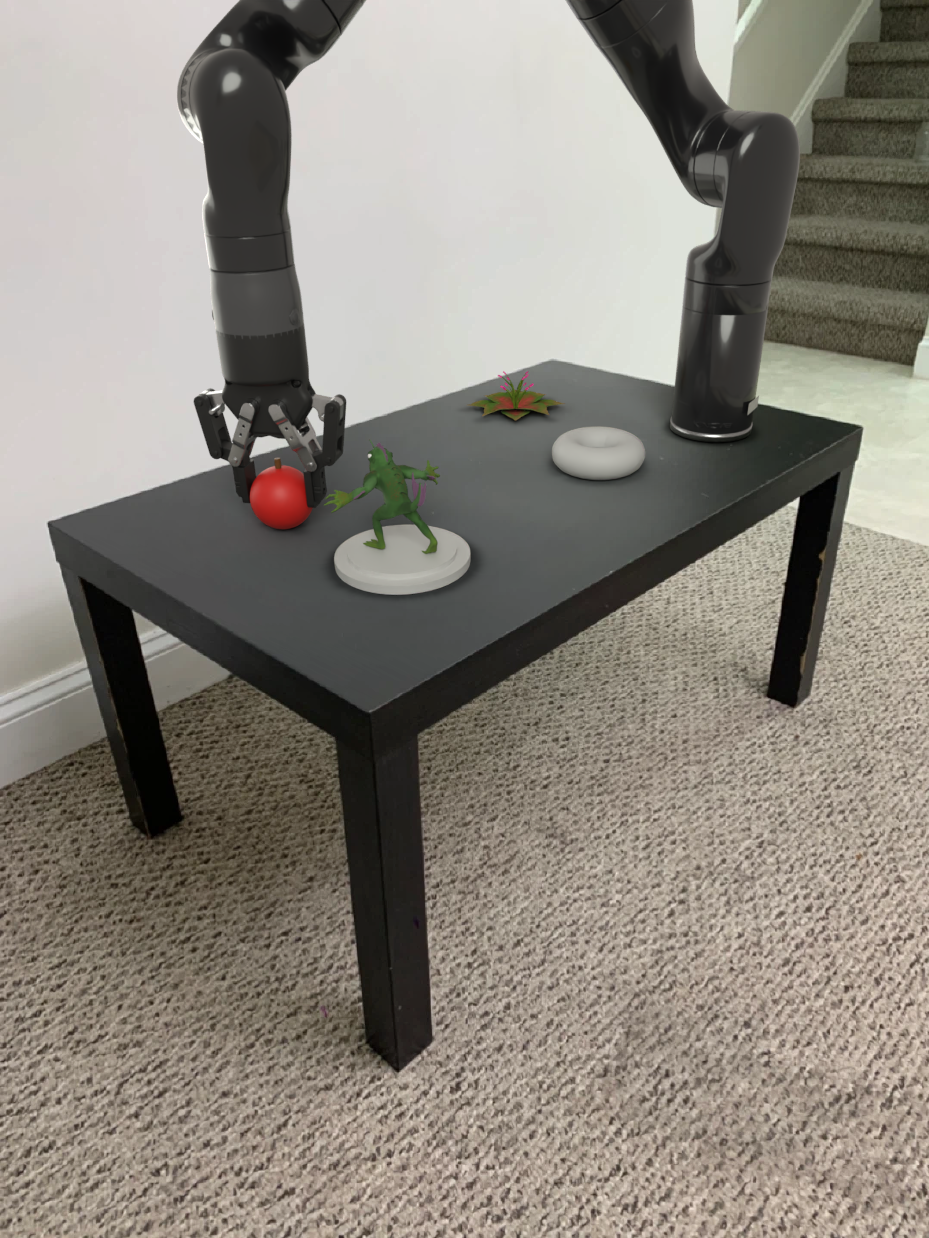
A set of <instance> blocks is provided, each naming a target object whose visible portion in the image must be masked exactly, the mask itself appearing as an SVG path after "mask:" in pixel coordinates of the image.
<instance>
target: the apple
mask: <svg viewBox="0 0 929 1238" xmlns="http://www.w3.org/2000/svg"><path fill="white" fill-rule="evenodd" d="M273 462H274V465H273V466H270V467H267V468H266V469H264V470H262V471H261V472H260V473H259V474H258V475H256V478H255V480H254V482H253V484H252V486H251V490H250V503H249V504H250V507H251V510H252V512H253V513H254V515H255V517H256V518H257V519H258V520H259V521H260V523H263V524H264V525H266V526H267V527H270V528H272V529H275V530H289V529H293V528H296V527H298V526H299V525H301V524H302V523H304V522H305V521H306V520H307V519H308V518H309V517H310V515H311V513H312V511H313V509H314V508H309V507H308V506H307V500H306V491H305V483H304V474H303V472H302V471H301V470H299V469H297V468H296V467H293V466H289V465H285V464H282V459H281V457H275V458H274V459H273Z"/></svg>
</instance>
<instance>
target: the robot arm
mask: <svg viewBox="0 0 929 1238" xmlns="http://www.w3.org/2000/svg"><path fill="white" fill-rule="evenodd" d="M565 2H566V4H567V6H568V8H569V9H570V10H571V12H572V14H573V15H574V17H575V18H576V19H577V21H578V23H579V24H580V25H581V27H582V29H583V30H584V31H585V32H586V34H587V35H588V37H589V38H590V40H591V41H592V43H593V45H594V46H595V47H596V48H597V49H598V51H599V52H600V53H601V55H602V56H603V58H605V60H606V61H607V63H608V64H609V65H610V67H611V68H612V70H613V72H614V73H615V74H616V76H617V77H618V79H619V80H620V82H621V83H622V85H623V86H624V87H625V88H624V89H626V90H627V92H628V94H629V95H630V97H631V98H632V99H633V100H634V102H635V103H636V105H637V106H638V108H639V109H640V110H641V112H642V113H643V115H644V117H645V118H646V120H647V121H648V123H649V124H650V126H651V128H652V130H653V131H654V133H655V135H656V137H657V139H658V141H659V143H660V145H661V147H662V149H663V150H664V151H663V152H664V153H665V155H666V156H667V158H668V160H669V162H670V164H671V166H672V168H673V170H674V172H675V174H676V175H677V177H678V179H679V181H680V183H681V184H682V186H683V187H684V190H686V192H687V193H688V194H689V195H690V196H691V197H692V198H693V199H694V200H695V201H696V202H698V203H699V204H702V205H704V206H708V207H712V208H717V209H721V211H720V215H719V221H718V226H717V230H716V233H715V234H714V236H713V237H712V238H711V239H710V240H709V241H707V242H704V243H701V244H698V245H696V246H693V248H691V249H690V250H689V252H688V254H687V258H686V264H685V265H686V266H685V274H684V283H683V284H684V285H683V294H682V307H681V318H680V327H679V338H678V347H677V357H676V358H677V359H676V369H675V379H674V391H673V397H672V398H673V399H672V409H671V410H672V411H671V417H670V422H669V429H670V430H671V432H672V433H674V434H676V435H677V436H680V437H682V438H686V439H688V440H693V441H698V442H709V443H728V442H733V441H734V442H735V441H739V440H743V439H745V438H747V437H749V436H750V435H751V434H752V431H753V425H754V424H753V423H754V422H753V418H754V411H755V410H756V409H757V408H758V406H759V398H760V395H758V396H757V392H758V391H757V390H758V382H759V376H760V369H761V362H762V356H763V348H764V340H765V333H766V326H767V320H768V312H769V303H770V297H771V291H772V290H771V289H772V282H773V278H774V277H773V276H774V270H775V265H776V263H777V261H778V259H779V257H780V255H781V253H782V251H783V248H784V246H785V242H786V238H787V234H788V229H789V223H790V218H791V213H792V209H793V203H794V198H795V192H796V188H797V182H798V177H799V171H800V162H801V161H800V160H801V147H800V145H801V144H800V139H799V138H800V137H799V133H798V130H797V128H796V126H795V124H794V122H793V121H792V120H791V119H790V118H789V117H788V116H786V115H784V114H783V113H779V112H775V111H763V110H743V109H742V110H739V109H733V107H730V105H728V104H727V103H726V102H725V100H724V99H723V98H722V97H721V96H720V95H719V93H718V91H717V90H716V89H715V87H714V86H713V85H712V83H711V81H710V80H709V78H708V76H707V75H706V73H705V71H704V69H703V68H702V65H701V63H700V61H699V59H698V54H697V49H696V36H695V34H696V30H695V11H694V1H693V0H565ZM365 3H367V0H238V1H237V2H236V3H235V4H234V5H233V6H232V7H231V8H230V10H229V11H227V13H226V14H225V15H224V16H223V17H222V18H221V20H220V21H219V22H218V23H217V24H216V25H215V26H214V27H213V28H212V30H211V31H210V32H209V33H207V35H206V36H205V37H204V39H203V40H201V41H202V42H201V43H199V45H198V46H197V48H196V49H195V50H194V51H193V53H192V54H191V56H190V57H189V59H188V60H187V62H186V63H185V65H184V67H183V69H182V71H181V72H180V75H179V78H178V82H177V87H176V104H177V110H178V113H179V116H180V118H181V121H182V123H183V124H184V126H185V128H186V129H187V130H188V131H189V133H190V134H191V135H192V136H193V137H194V138H195V139H196V140H197V141H198V142H200V143H201V144H202V145H203V153H204V163H205V172H206V180H207V193H206V195H205V197H204V198H203V201H202V207H201V208H202V210H201V217H202V228H203V235H204V242H205V249H206V255H207V256H206V257H207V262H208V267H209V282H210V283H209V288H210V289H209V290H210V291H209V293H210V301H211V303H210V304H211V308H212V309H211V317H212V321H213V322H214V329H215V335H216V343H217V348H218V350H217V351H218V356H219V361H220V362H219V363H220V369H221V374H222V376H223V379H224V386H223V389H221V390H215V389H214V388H211V387H210V388H207V389H205V390H203V391H202V392H200V393H199V394H198V395H197V396H195V397H194V398H193V405H194V408H195V411H196V415H197V418H198V422H199V425H200V428H201V431H202V433H203V437H204V441H205V444H206V447H207V450H208V453H209V456H210V457H211V458H212V459H214V460H219V459H222V460H224V461H226V462H228V463H229V465H230V466H231V468H232V472H233V480H234V486H235V493H236V494H237V496H238V497H239V498H241V500H242V501H241V502H242V503H243V504H251V503H250V490H251V486H252V484H253V482H254V480H255V478H256V477H257V473H256V472H257V471H256V465H255V460H254V459H251V454H252V452H253V449H254V446H255V443H256V440H257V438H265V437H272V438H275V439H282V440H285V441H286V443H287V444H288V446H289V448H290V450H291V451H293V452H295V453H296V455H297V456H298V457H297V458H298V459H299V460H300V462H301V464H302V466H303V467H304V470H303V472H302V473H303V474H304V483H305V491H306V500H307V506H308V507H309V508H313V509H317V508H318V506H319V505H320V504H321V503H322V501H323V500H325V498H326V497H327V492H328V488H327V479H326V478H327V477H326V468H325V467H332V466H333V465H334V464H335V463H336V462H337V461H338V460H340V458H341V457H342V456H343V454H344V446H345V432H346V431H345V430H346V417H347V415H346V414H347V413H346V412H347V398H346V397H345V396H344V395H343V394H340V393H339V394H336V395H335V396H333V397H331V396H327V395H322V394H317V393H316V391H315V389H314V387H313V386H312V383H311V380H310V365H309V357H308V347H307V346H308V345H307V337H306V328H305V318H304V310H303V299H302V292H301V286H300V282H299V278H298V274H297V268H296V263H295V254H294V243H293V234H292V233H293V232H292V224H291V219H290V217H291V216H290V213H289V212H290V211H289V195H290V194H289V193H290V185H291V169H292V168H291V167H292V145H293V144H292V141H293V139H292V137H293V135H292V119H291V118H292V117H291V110H290V105H289V100H288V96H287V90H288V88H289V87H290V86H291V85H292V84H293V82H294V81H295V80H296V78H297V77H298V76H299V74H301V72H302V71H304V69H307V67H309V66H311V65H312V64H315V63H317V62H319V61H320V60H321V59H323V58H324V57H325V56H326V55H327V54H328V53H329V52H330V51H331V49H332V48H333V47H334V46H335V45H336V44H337V42H338V41H339V39H341V36H342V35H343V34H344V32H345V31H346V30H347V28H348V27H349V25H350V24H351V23H352V22H353V20H354V18H355V17H356V16H357V14H358V13H359V11H360V10H361V9H362V8H363V6H364V5H365ZM226 407H227V409H228V410H229V411H230V413H232V415H233V416H234V417H235V418H236V419H237V423H236V427H235V430H234V433H233V435H232V436H233V437H232V439H231V435H230V432H229V428H228V425H227V421H226V419H225V415H224V412H225V410H226ZM313 409H314V410H316V412H317V417H318V419H319V421H321V422H323V430H322V447H321V445H320V443H319V441H318V439H317V434H316V430H315V429H314V426H313V425H312V423H311V421H310V420H309V417H308V416H309V414H310V413H311V411H312V410H313Z"/></svg>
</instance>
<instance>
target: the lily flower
mask: <svg viewBox="0 0 929 1238" xmlns="http://www.w3.org/2000/svg"><path fill="white" fill-rule="evenodd" d="M502 373H503V374H504V375H505V376H506V378H505V377H503V376H502V375H501V374H497V377H499V378H501V379H503V380H504V381H505V382H504V385H505V386H506V387H508V388H509V389H508V388H506V387H505V386H503V385H500V388H501V389H502V390H504V391H498V392H494V393H491V394H486V395H484V397H486V398H487V399H481V400H477V401H474V402H472V403H470V404H467V406H470V407H477V408H478V407H479V408H484V409H483V414H482V415H481V417H484V416H487V415H489V414H491V413H495V412H497V411H500V410H501V414H503V415H505V416H507V417H508V418H510V419H512V420H514V421H517V420H519V419H521V417H524V416H525V415H528V414H529V413H530V412H531V411H534V412H537V413H541V414H545V415H547V416H550V413H549V411H548V407H551V406H559V405H566V403H565V402H560V401H556V400H555V399H549V398H545V399H543V398H544V396H547V394H546V393H541V392H536V391H532V390H529V389H530V388H532V387H533V386H534V385H535V384H534V383H533V382H532V383H530V384H529V385H528V386H527V387H525V386H526V385H527V382H524V381H525V379H527V378H528V377H529V375H530V374H529V370H527V371H526V372H525V373H524V375H523V376H522V378H521V379H520V381H519V382H518V385H517V387H516V388H515V387H514V384H513V382H512V380H511V379H510V377H509V376H508V374H507V373H506V372H505V371H504V370H503V371H502ZM523 387H525V388H524V390H522V389H523ZM521 390H522V391H521ZM527 390H528V391H527Z"/></svg>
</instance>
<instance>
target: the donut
mask: <svg viewBox="0 0 929 1238" xmlns="http://www.w3.org/2000/svg"><path fill="white" fill-rule="evenodd" d="M551 455H552V461H553V462H554V465H555V466H556V467H557V468H559V470H560V471H561V472H562V473H565V474H567V475H569V476H572V477H575V478H578V479H579V478H580V479H582V480H591V481H608V480H610V481H611V480H617V479H621V478H624V477H627V476H630V475H631V474H633V473H635V472H636V471H637V470H639V469H640V468H641V466H642V465H643V463H644V461H645V458H646V449H645V446H644V443H643V442H642V440H641V439H640V438H639V437H637V436H636V435H635V434H634V433H631V432H629V431H626V430H624V429H621V428H616V427H611V426H610V427H609V426H583V427H578V428H574V429H571V430H570V429H569V430H568V431H565V432H564V433H562V434H561V435H559V436H558V437H557V438H556V439H555V441H554V443H553V444H552V447H551Z"/></svg>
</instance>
